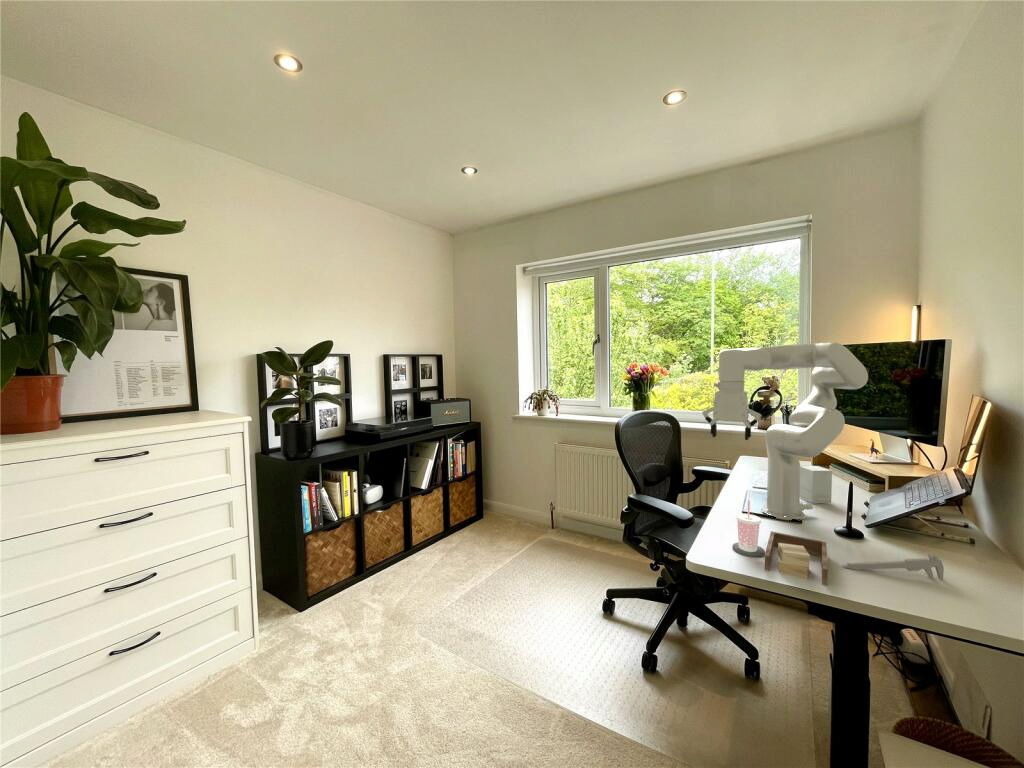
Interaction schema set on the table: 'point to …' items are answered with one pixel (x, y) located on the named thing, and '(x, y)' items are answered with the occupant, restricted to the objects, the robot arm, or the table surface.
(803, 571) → the offcut lower
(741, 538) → the beverage cup
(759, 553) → the coaster
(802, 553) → the offcut upper
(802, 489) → the supplement box
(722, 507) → the table surface
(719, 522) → the table surface
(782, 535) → the rack
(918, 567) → the caliper
